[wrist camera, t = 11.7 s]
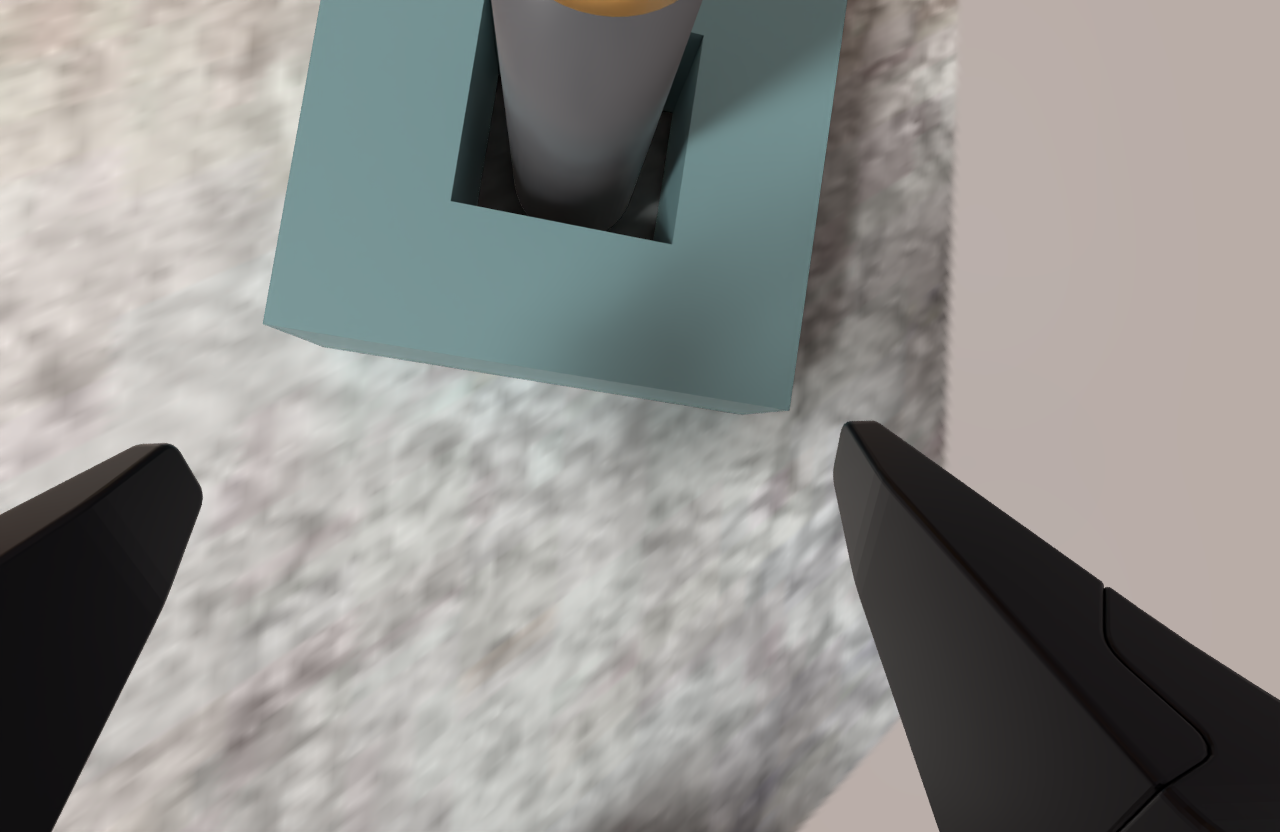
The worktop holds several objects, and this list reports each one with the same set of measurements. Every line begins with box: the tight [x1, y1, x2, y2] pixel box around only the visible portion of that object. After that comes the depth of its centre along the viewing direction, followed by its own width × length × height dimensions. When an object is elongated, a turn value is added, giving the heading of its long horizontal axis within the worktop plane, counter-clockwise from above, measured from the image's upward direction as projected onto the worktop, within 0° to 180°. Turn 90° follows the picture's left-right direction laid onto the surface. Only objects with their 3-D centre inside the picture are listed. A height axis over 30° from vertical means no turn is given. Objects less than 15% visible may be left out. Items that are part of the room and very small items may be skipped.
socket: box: [263, 0, 847, 415], centre depth 20 cm, size 14×14×4 cm
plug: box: [491, 0, 703, 231], centre depth 16 cm, size 4×4×13 cm
